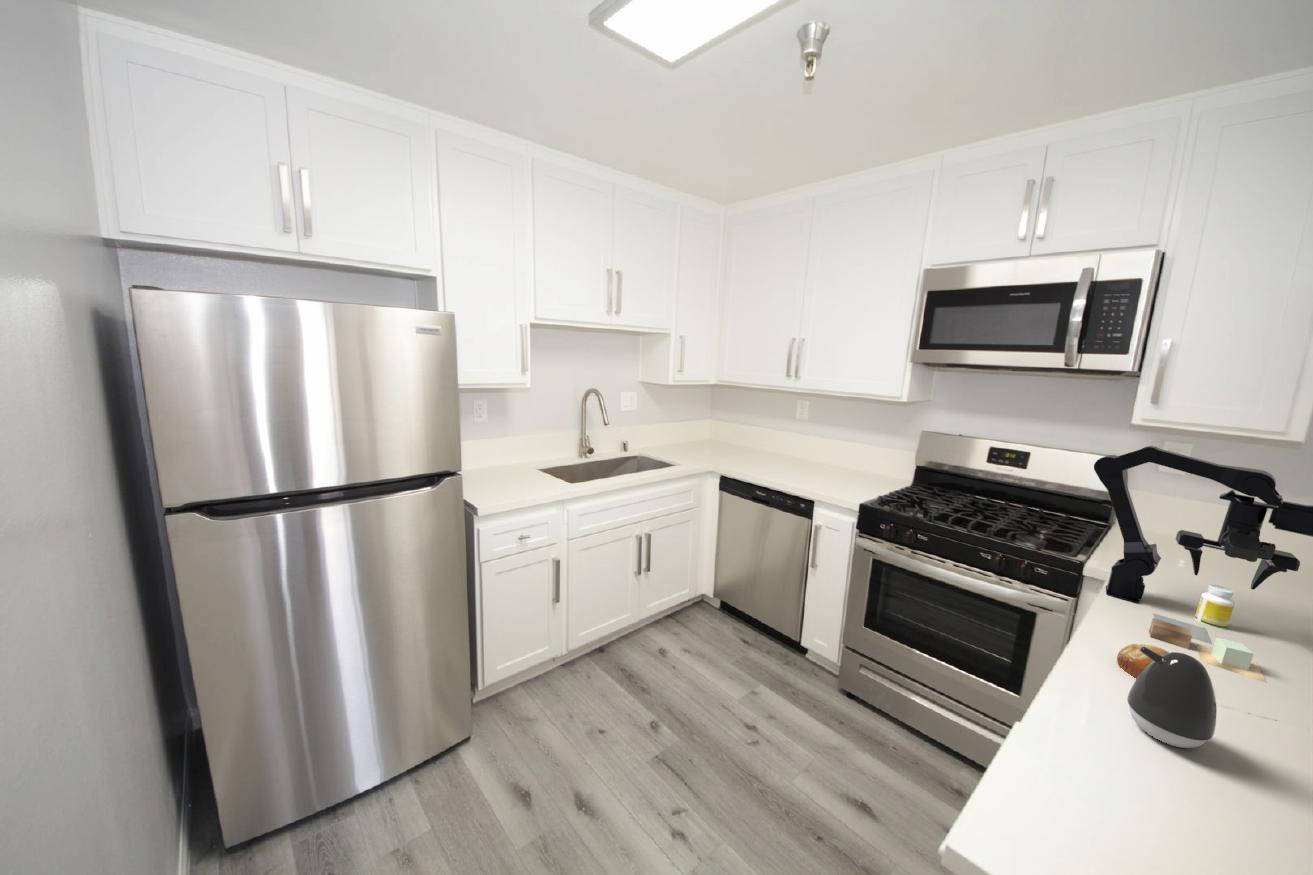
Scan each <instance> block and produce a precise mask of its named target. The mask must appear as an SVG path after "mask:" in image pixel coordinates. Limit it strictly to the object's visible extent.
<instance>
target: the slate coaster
mask: <svg viewBox="0 0 1313 875" xmlns="http://www.w3.org/2000/svg"><path fill="white" fill-rule="evenodd" d="M1152 615H1153V618H1154V619H1157V620H1161V621H1164V622H1167V623H1171V624H1174V625H1177V626H1181V627H1184V628H1187V629H1190V631H1191V634H1192V638H1191V639H1193V640H1197V641H1200V642H1204V643H1207V644H1210V645H1213V643H1212V640H1211V638H1210V636H1209V634H1208V631H1207V629H1206V628H1205V627H1202V626H1198V625H1195V624H1191V623H1188V622H1184V621H1181V620H1178V619H1175V618H1171V617H1168V616H1164V615H1161V614H1157V613H1152Z"/></svg>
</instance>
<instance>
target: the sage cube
mask: <svg viewBox="0 0 1313 875" xmlns="http://www.w3.org/2000/svg"><path fill="white" fill-rule="evenodd" d="M1212 645H1213V646H1212V648H1211V649H1212V652H1211V654H1212V655H1213V656H1214V657H1215V658H1216V659H1217V660H1218V661H1219V662H1220V663H1221V664H1223V665H1227V666H1231V667H1235V668H1239V669H1243V670H1248V669H1249V666H1250V663H1251V661H1253V658H1254V652H1252V650H1250V649H1249V648H1248V647H1246V645H1244V644H1243V643H1241V642H1237V641H1232V640H1228V639H1224V638H1220V637H1215V639H1214V642H1213V644H1212Z"/></svg>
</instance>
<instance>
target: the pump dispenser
mask: <svg viewBox="0 0 1313 875" xmlns="http://www.w3.org/2000/svg"><path fill="white" fill-rule="evenodd" d="M1140 651H1141V652H1142V653H1144V654H1145V655H1146V656H1148V657H1149V658H1151V659H1152V660H1153V662H1152V663H1150V664H1149V665H1148V666H1147V667H1146V668H1145V669H1144V670H1143V671H1142V672H1141V674H1140V675H1139V676H1138V678H1137V679H1135V681H1134V682H1133V684H1132V686H1131V688H1130V690H1129V692H1128V695H1127V699H1126V700H1127V704H1128V705H1129V706H1128V707H1129V712H1130V714H1131V717H1132V719H1133V721H1134V722H1135V723H1136V724H1137V726H1138V727H1139V728H1141V730H1142V731H1144V732H1145V733H1146V732H1147V733H1146V734H1148V735H1149V736H1150V737H1152V736H1153V737H1152V738H1154V739H1156V740H1157V739H1158V741H1159V740H1160V742H1161V741H1162V743H1163V744H1166V743H1167V745H1170V746H1172V747H1176V748H1182V749H1194V748H1198V747H1200V746H1201V745H1203V744H1205V743H1207V741H1208V740H1211V739H1212V738H1213V737H1214V735H1215V731H1216V727H1217V726H1216V725H1217V712H1218V710H1217V700H1216V694H1215V689H1214V687H1213V682H1212V679H1211V676H1210V675H1209V672H1208V670H1207V669H1206V667H1205V665H1203V664H1202V662H1200V661H1199V660H1198V659H1196V658H1195V657H1193V656H1191V655H1189V654H1187V653H1184V652H1176V651H1174V652H1171V651H1170V652H1169V653H1167V654H1165V655H1162V656H1160V655H1159V654H1157V653H1155V652H1153V651H1151V650H1150V649H1148V648H1146V647H1141V648H1140Z"/></svg>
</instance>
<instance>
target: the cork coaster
mask: <svg viewBox="0 0 1313 875" xmlns="http://www.w3.org/2000/svg"><path fill="white" fill-rule="evenodd" d="M1194 645H1195V648H1196V650H1197V653H1198V656H1199V660H1200V661H1201V662H1200V663H1203V664H1207V665H1211V666H1214V667H1217V668H1220V669H1224V670H1226V671H1230V672H1233V673H1235V674H1239V675H1241V676H1245V677H1248V678H1251V679H1254V680H1257V681H1261V682H1262V683H1268V682H1267V680H1266V678H1265V676H1264V674H1263V672H1262V671H1261V669H1260V667H1259V665H1258V664H1257V662H1255V661H1253V660H1251V663H1250V666H1249V669H1248V670H1243V669H1239V668H1235V667H1231V666H1227V665H1223V664H1221V663H1220V662H1219V661H1218V660H1217V659H1216V658H1215V657H1214V656H1213V655H1212V654H1211V652H1212V649H1213V648H1210V647H1207V646H1204V645H1202V644H1201V645H1200V644H1197V643H1194Z"/></svg>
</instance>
